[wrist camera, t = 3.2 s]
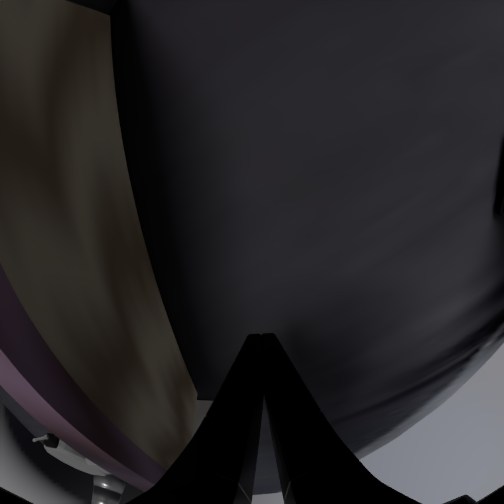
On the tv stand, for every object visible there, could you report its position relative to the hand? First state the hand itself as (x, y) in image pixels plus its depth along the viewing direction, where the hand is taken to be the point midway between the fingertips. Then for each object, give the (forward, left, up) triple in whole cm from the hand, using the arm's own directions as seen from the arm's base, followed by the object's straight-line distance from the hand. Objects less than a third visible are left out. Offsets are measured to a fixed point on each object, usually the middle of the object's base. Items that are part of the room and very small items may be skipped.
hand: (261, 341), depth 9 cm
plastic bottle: (+31, +48, -4) cm, 57 cm away
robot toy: (+24, +29, -4) cm, 38 cm away
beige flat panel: (+5, -2, -3) cm, 6 cm away
